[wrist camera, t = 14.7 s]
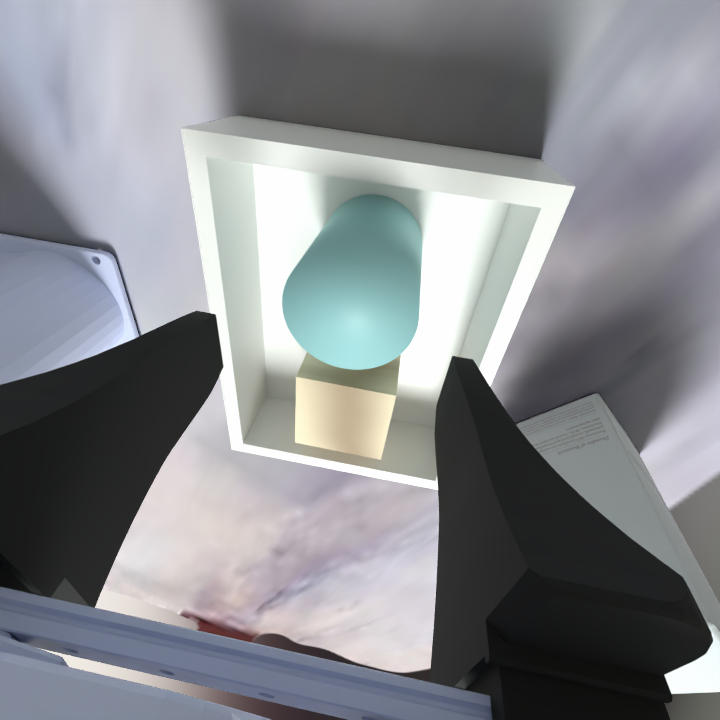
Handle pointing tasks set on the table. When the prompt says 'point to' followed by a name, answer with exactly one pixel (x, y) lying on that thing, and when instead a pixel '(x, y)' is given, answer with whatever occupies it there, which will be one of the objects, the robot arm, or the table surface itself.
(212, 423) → the table surface
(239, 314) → the tote
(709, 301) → the table surface
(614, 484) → the supplement box
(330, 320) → the teal cylinder
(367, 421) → the maple cube
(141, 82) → the table surface
